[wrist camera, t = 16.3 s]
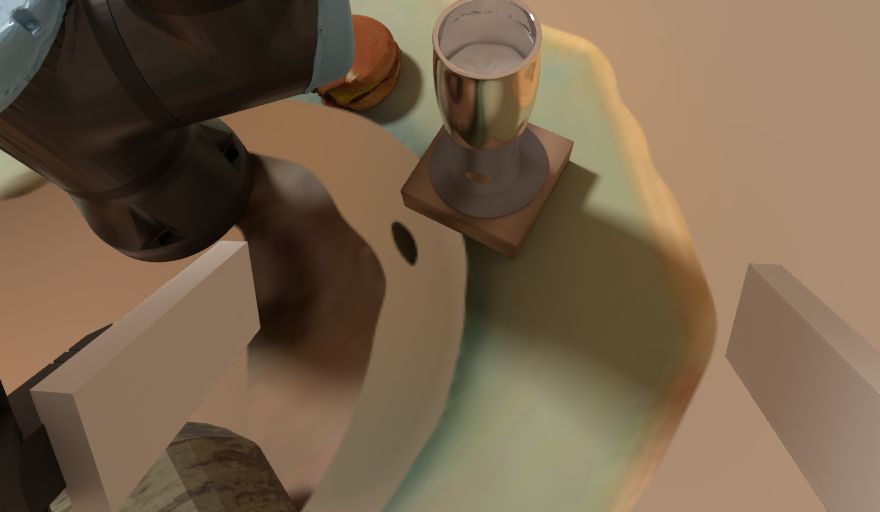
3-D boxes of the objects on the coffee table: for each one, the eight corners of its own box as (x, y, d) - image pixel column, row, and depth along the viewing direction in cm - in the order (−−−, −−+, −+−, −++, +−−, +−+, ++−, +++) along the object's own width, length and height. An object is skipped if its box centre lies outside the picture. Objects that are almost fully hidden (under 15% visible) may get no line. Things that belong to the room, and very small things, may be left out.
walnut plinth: (405, 206, 49) (400, 188, 46) (463, 115, 52) (462, 93, 49) (514, 259, 46) (516, 244, 43) (568, 160, 50) (574, 139, 47)
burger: (375, 24, 57) (366, -12, 53) (419, 84, 54) (413, 50, 50) (292, 66, 56) (276, 33, 52) (331, 130, 53) (318, 100, 49)
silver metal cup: (534, 139, 47) (556, 0, 33) (515, 209, 45) (530, 91, 31) (456, 123, 48) (447, -18, 34) (434, 190, 46) (413, 68, 32)
